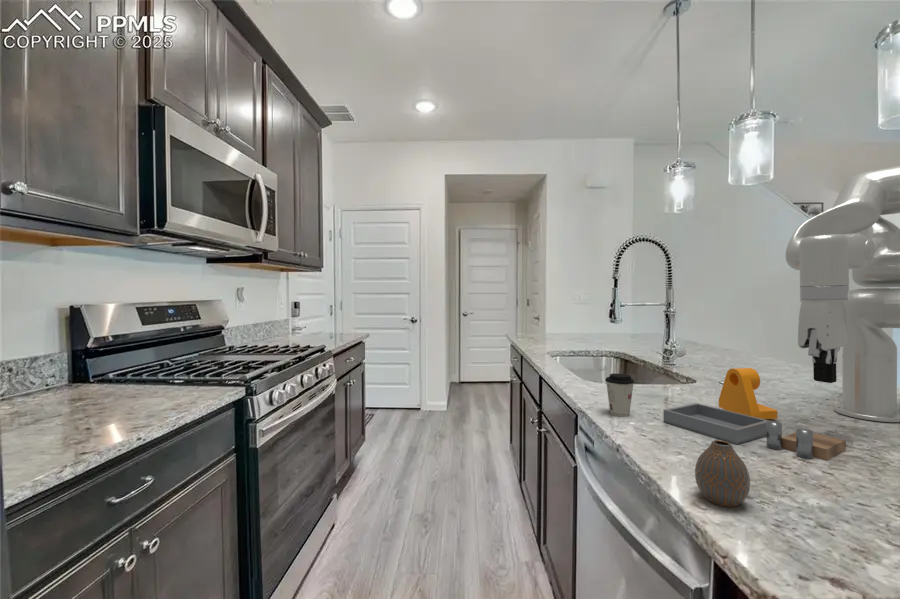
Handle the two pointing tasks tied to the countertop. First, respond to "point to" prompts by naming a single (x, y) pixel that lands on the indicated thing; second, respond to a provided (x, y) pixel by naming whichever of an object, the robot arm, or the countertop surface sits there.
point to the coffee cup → (619, 394)
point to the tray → (717, 423)
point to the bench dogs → (802, 439)
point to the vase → (722, 475)
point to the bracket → (743, 394)
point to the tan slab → (818, 445)
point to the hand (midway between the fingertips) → (824, 381)
